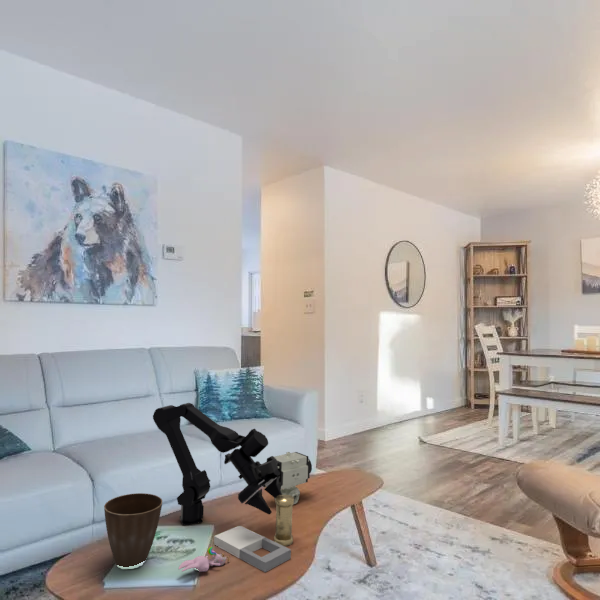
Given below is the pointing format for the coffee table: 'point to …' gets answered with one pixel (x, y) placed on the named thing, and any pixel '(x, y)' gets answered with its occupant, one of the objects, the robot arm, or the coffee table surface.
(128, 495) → the plant pot
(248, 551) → the grey holder base
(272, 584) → the coffee table surface
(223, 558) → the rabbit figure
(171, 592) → the coffee table surface
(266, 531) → the coffee table surface
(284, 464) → the ball valve
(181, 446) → the robot arm
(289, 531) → the brass fitting
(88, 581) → the coffee table surface
